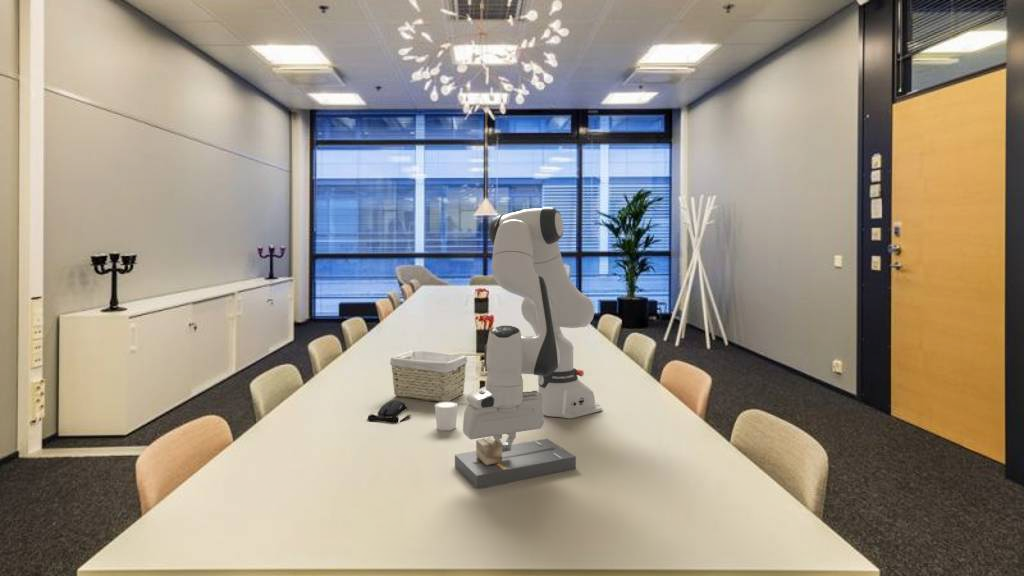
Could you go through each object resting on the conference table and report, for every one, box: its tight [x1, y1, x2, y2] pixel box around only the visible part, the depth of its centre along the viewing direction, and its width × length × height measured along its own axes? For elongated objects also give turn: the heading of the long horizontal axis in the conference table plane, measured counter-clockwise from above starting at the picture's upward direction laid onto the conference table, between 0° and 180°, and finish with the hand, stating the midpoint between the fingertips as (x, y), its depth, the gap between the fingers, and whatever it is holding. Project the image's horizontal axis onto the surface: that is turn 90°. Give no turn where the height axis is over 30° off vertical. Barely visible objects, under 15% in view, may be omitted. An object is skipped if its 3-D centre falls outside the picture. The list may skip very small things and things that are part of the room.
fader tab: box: [475, 437, 502, 465], centre depth 131 cm, size 4×6×4 cm, turn 26°
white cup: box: [434, 401, 459, 431], centre depth 164 cm, size 7×7×7 cm
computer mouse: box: [366, 399, 412, 424], centre depth 177 cm, size 12×17×4 cm
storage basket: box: [389, 349, 468, 403], centre depth 200 cm, size 24×16×15 cm
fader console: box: [454, 438, 577, 490], centre depth 135 cm, size 26×14×3 cm, turn 116°
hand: (504, 450), depth 133 cm, fingers closed
